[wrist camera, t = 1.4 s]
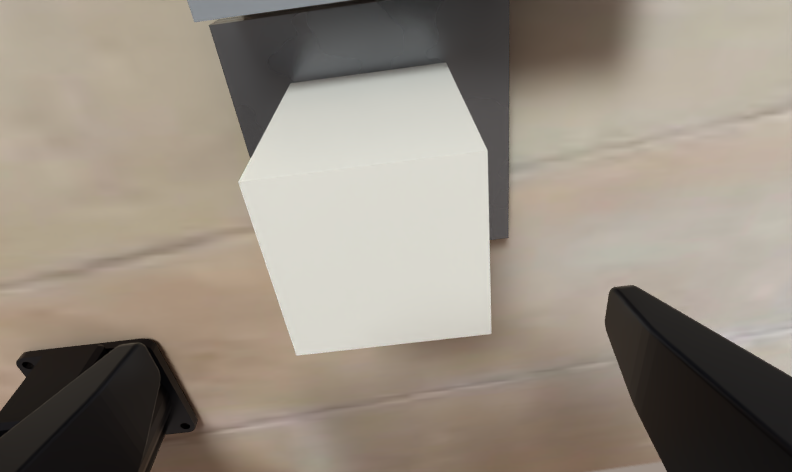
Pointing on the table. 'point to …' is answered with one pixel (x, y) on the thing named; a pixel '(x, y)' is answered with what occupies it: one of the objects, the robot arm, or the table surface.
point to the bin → (244, 7)
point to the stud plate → (376, 62)
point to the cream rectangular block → (374, 211)
